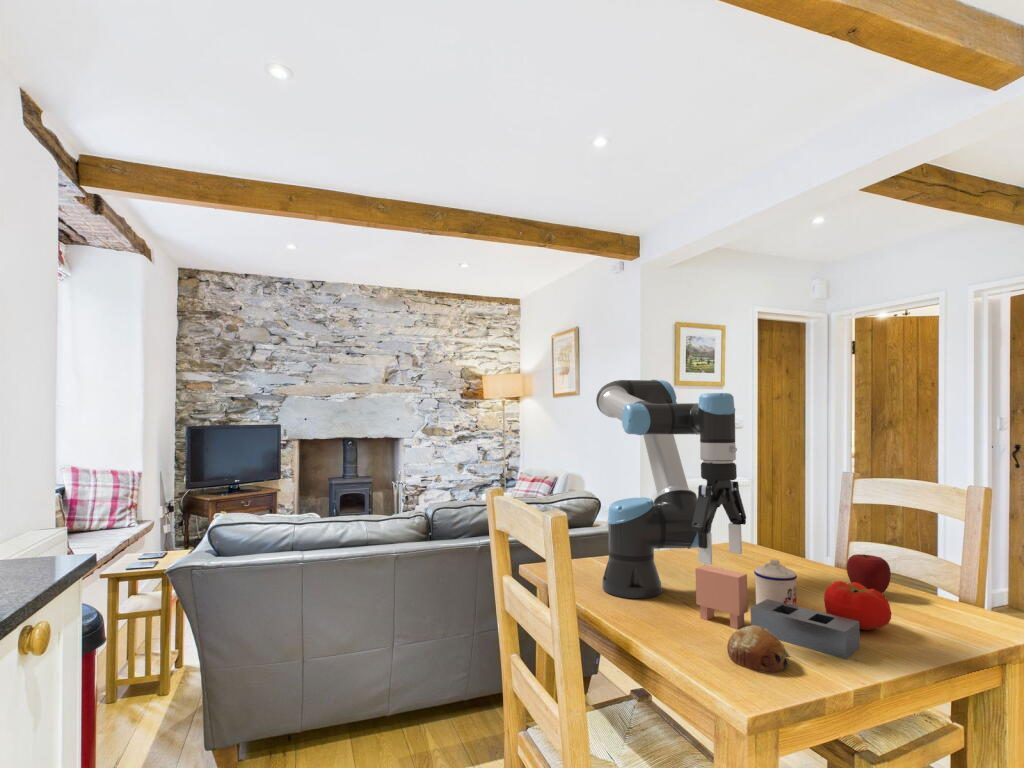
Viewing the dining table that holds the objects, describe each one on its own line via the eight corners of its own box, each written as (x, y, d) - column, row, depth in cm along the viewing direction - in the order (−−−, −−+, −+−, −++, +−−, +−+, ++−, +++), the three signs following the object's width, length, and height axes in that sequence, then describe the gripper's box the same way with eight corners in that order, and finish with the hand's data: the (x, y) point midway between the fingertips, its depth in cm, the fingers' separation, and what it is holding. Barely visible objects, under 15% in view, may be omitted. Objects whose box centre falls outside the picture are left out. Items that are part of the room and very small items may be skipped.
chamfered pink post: (696, 617, 126) (695, 568, 126) (705, 613, 128) (704, 565, 129) (739, 630, 118) (738, 577, 119) (748, 625, 121) (746, 574, 122)
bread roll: (762, 668, 109) (746, 625, 112) (805, 664, 101) (787, 617, 104) (726, 680, 104) (711, 634, 107) (769, 676, 96) (751, 627, 99)
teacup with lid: (792, 620, 124) (790, 567, 124) (749, 611, 129) (748, 560, 130) (805, 606, 133) (803, 556, 134) (765, 598, 139) (763, 551, 139)
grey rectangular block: (751, 631, 118) (750, 607, 118) (767, 622, 123) (766, 599, 123) (846, 659, 104) (845, 631, 104) (860, 647, 110) (859, 621, 110)
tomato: (887, 644, 111) (885, 599, 111) (817, 629, 119) (815, 587, 119) (896, 624, 121) (895, 583, 122) (831, 611, 129) (829, 573, 130)
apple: (867, 586, 148) (866, 548, 148) (901, 598, 138) (899, 557, 139) (838, 590, 145) (837, 551, 146) (871, 601, 136) (869, 560, 137)
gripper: (705, 465, 114) (708, 571, 113) (759, 459, 131) (762, 551, 129) (673, 463, 120) (675, 564, 118) (728, 458, 136) (731, 546, 135)
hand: (721, 558), depth 124 cm, fingers open, 13 cm apart
